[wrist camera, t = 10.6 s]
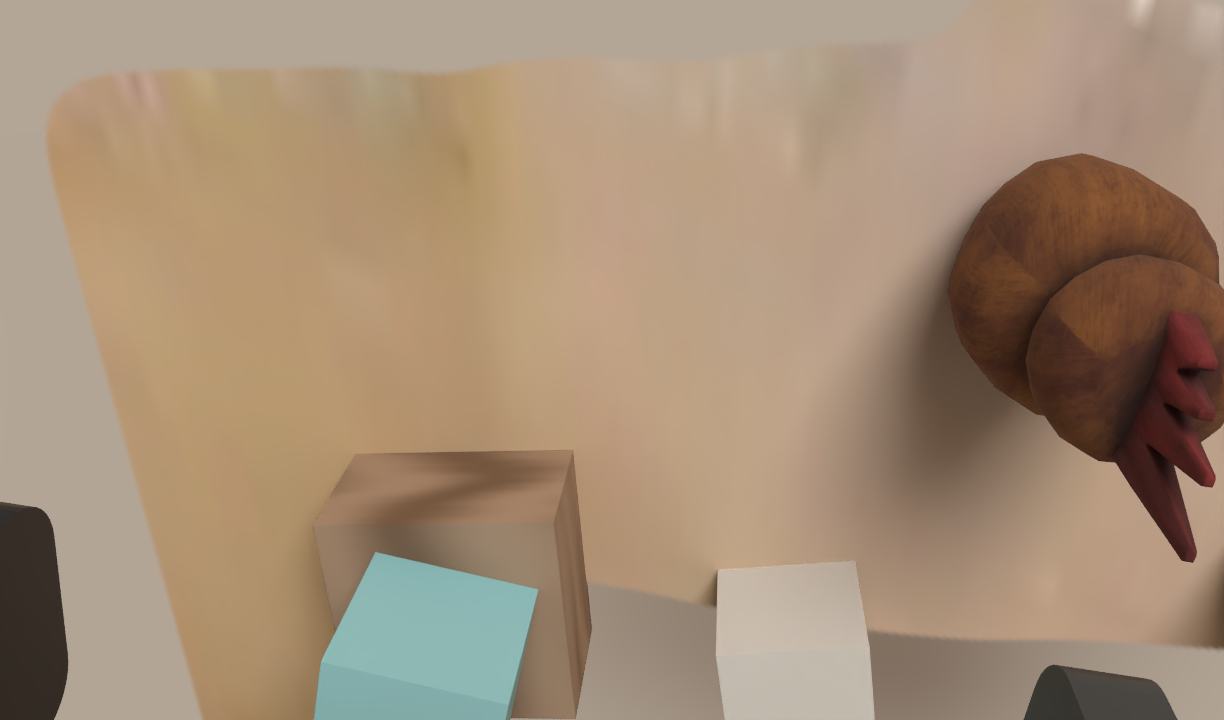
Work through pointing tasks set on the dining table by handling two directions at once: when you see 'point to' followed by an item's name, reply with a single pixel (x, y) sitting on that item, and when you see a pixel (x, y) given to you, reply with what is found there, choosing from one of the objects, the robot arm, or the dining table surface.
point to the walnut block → (474, 545)
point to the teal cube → (426, 646)
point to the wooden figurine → (1101, 321)
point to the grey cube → (793, 643)
